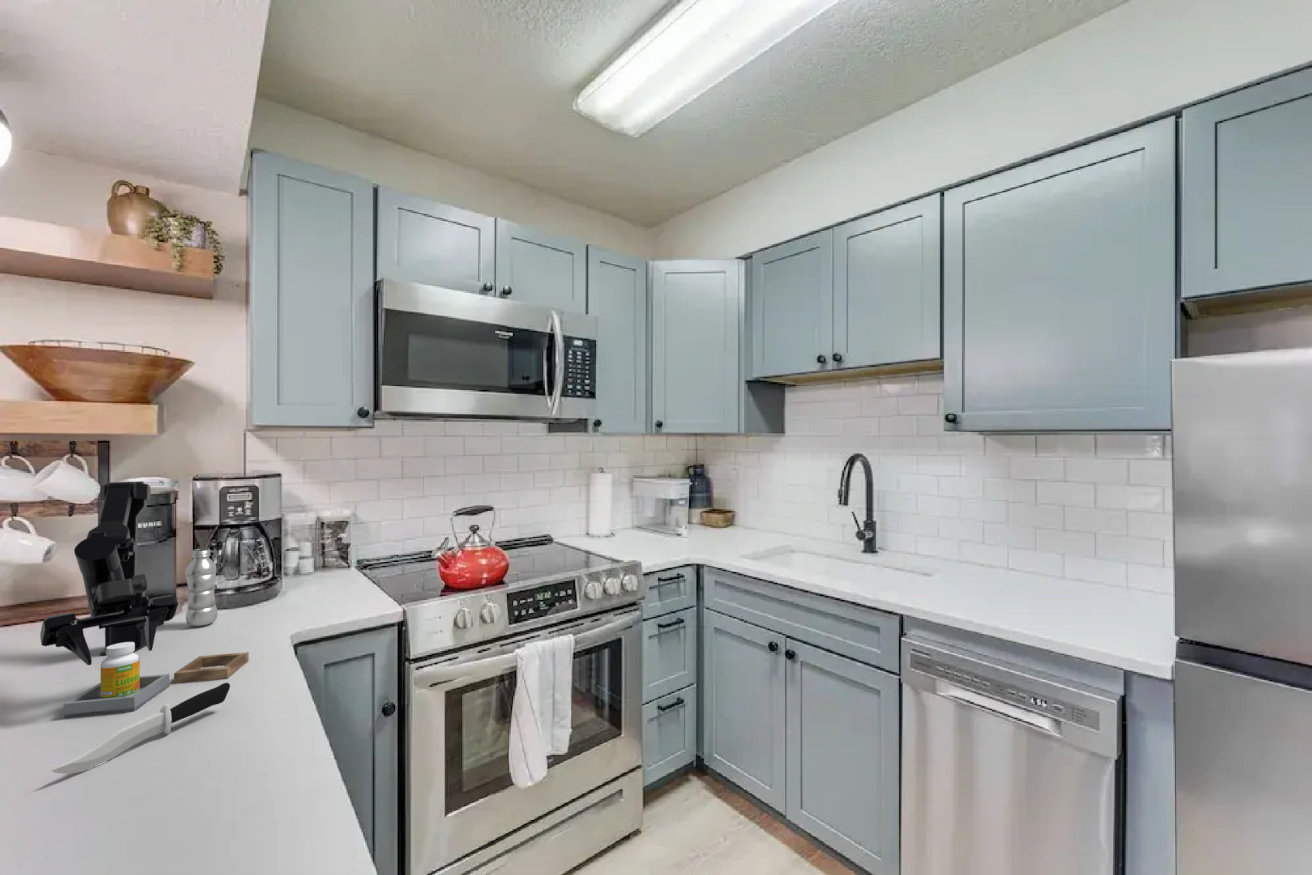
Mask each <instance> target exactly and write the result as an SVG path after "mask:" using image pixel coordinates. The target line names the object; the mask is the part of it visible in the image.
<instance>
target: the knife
mask: <svg viewBox="0 0 1312 875" xmlns="http://www.w3.org/2000/svg"><path fill="white" fill-rule="evenodd" d="M230 688H231V684H230V683H229V682H223V683H221V684H219V685H217V686H215V687H213V688H211V689H208V690H205V691H203V692H200V693H198V694H196V695H194V696H192V697H190V698H187V699H186V700H184V701H181V702H179V703H178V704H177V705H174V706H173V707H171V704H170V703H169V704H168V703H166V704H164V705H163V706H162V707H161V708H160V711H159V712H158V713H155V714H152V715H149V716H147V717H146V718H143V719H141V720H139V721H136V722H134V723H133V724H130V725H127V726H124V727H123V728H121V729H119V730H116V731H115V732H114V733H112V734H110V735H109V736H107V737H106V738H105V739H103V740H102V741H101V742H100V743H99V742H98V744H96V745H95V746H93V747H92V748H89V750H86V751H85V752H82V753H81V754H80V755H78V756H76V757H74V758H72V759H70V760H68V761H67V762H64V763H62V764H61V765H59V766H57V767H55V768H53V769H51V770H50V771H51V772H53V773H56V774H64V775H65V774H75V773H80V772H84V771H83V770H85V771H87V770H86V769H88V770H90V769H89V768H91V767H93V766H95V765H98V764H100V763H103V762H104V761H107V762H109V761H111V760H112V759H113V758H116V756H118V755H120V754H122V753H123V752H125V751H126V750H128V749H129V748H132V746H135V745H137V744H139V743H140V742H142V741H145V740H147V739H149V738H150V737H153V736H155V735H157V734H159V733H161V732H162V733H163V734H166V735H168V734H171V727H172V724H174V723H176V722H179V721H181V720H184V719H186V718H188V717H191V716H193V715H195V714H197V713H200V712H202V711H204V710H206V709H209V708H210V707H213V706H216V705H219V704H222V703H224V701H225V700H226V697H227V696H228V693H229V690H230ZM110 759H111V760H110ZM108 760H109V761H108ZM103 764H104V763H103ZM91 769H92V768H91Z"/></svg>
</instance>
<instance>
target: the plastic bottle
mask: <svg viewBox="0 0 1312 875" xmlns="http://www.w3.org/2000/svg"><path fill="white" fill-rule="evenodd" d="M191 552H192V553H191V559H192V561H190V563H189V564H188V565H187V566H186V569H185V571H184V572H185V579H186V584H187V591H188V593H187V594H188V599H187V600H188V601H187V610H186V615H185V620H186V624H187V625H188V626H189V627H203V625H204V626H207V625H210V624H212V623H214V622H215V621H216V620H217V618H218V614H219V613H218V608H217V605H216V598H215V584H216V583H215V581H216V576H217V566H216V564H215V563H214V562H213V560H212V559H210V556H211V549H210V548H199V549H192V551H191Z"/></svg>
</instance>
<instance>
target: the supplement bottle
mask: <svg viewBox="0 0 1312 875" xmlns="http://www.w3.org/2000/svg"><path fill="white" fill-rule="evenodd" d="M134 650H135V643H134V642H124V643H118V644H114V645H110V646H108V647H106V655H105V656H107V657H106V658H103V659H102V661H101V663H100V683H101V696H100V697H101V699H105V698H115V697H126V696H133V695H134V694H136V693H137V692H139V691H140V676H141V675H140V671H141V670H140V668H141V666H140V665H141V664H140V663H141V662H140V661H141V659H140V655H139V654H138V653H136V652H133V651H134Z"/></svg>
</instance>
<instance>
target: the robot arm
mask: <svg viewBox="0 0 1312 875" xmlns="http://www.w3.org/2000/svg"><path fill="white" fill-rule="evenodd" d="M151 493H152V491H151V485H150V484H148V483H145V482H144V481H143V480H142V481H140V480H139V481H111V482H109V483H105V484H104V485H103V484H102V485H99V502H101V503H103V505H102V510H101V513H100V519H99V522H98V525H97V526H96V527H94V528H92V529H91V530H89V531H88V533H87V536H86V538H85V539H83V540H81V541H80V542H78V543H77V545H76V546H74V550H73V552H74V555H75V558H76V561H77V565H78V568H79V572H80V573H81V574H82V575H81V576H82V580H83V585H84V589H85V596H86V599H87V607H88V610H89V615H90V616H86V617H81V618H78V617H76V614H75V612H74V611H73V612H69V613H68V612H67V613H63V614H62V613H61V614H57V615H56V614H55V615H51V616H47V617H46V618H45V619H43V621H42V624H41V629H40V637H39V638H40V643H41V646H43V647H48V646H53V645H55V647H56V648H61V647H63V648H66V650H69V651H70V652H72V653H73V654H75V655H76V656H77V657H78V658H79V659H80V660H81V661H82V662H84V663H85V664H86V665H87V666H91V665H92V662H93V660H92V654H91V650H90V648H89V645H88V642H87V640H86V637H85V635H84V629H89V628H95V627H98V629H99V630H103V629H104V650H103V651H101V652H99V655H100V656H106V647H108V646H110V645H114V644H118V643H124V642H134V643H135V650H134V651H133V653H136V651H138V650H140V649H142V648H144V647H145V646H146V648H147V649H148V652H151V651H152V650H153V647H154V643H155V638H156V632H157V627H160V626H162V625H164V623H166V622H169V621H171V620H172V619H174V617H175V614H176V611H177V608H178V606H179V602H178V598H177V596H175V595H172V594H168V595H163V596H158V597H156V596H155V597H151V598H149V596H148V595H146V590H148V580H147V578H146V575H145V573H143V574H142V573H141V574H137V572H138V570H137V569H138V536H139V535H138V534H139V533H138V532H139V518H140V517H141V515H142V514H143V513H144V512H145V510H146V509H147V508H148V507H147V506H148V501H150V500H151Z"/></svg>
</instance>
